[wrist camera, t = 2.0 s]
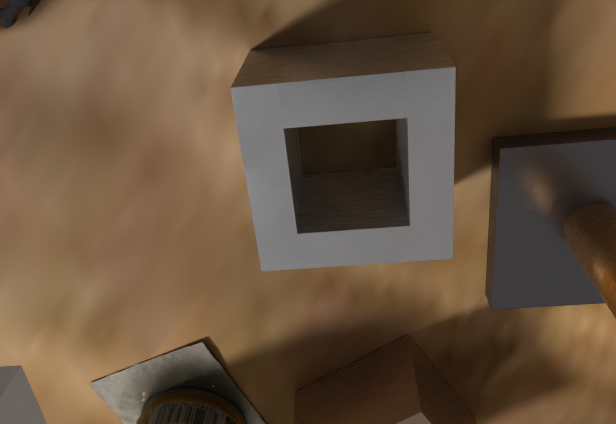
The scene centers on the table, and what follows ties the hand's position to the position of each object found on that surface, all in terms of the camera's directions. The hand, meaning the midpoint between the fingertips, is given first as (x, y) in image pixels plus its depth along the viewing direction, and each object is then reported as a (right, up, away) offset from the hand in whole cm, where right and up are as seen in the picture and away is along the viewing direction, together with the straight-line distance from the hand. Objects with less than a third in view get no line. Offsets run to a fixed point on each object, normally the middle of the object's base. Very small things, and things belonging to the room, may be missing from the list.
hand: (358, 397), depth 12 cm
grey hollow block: (+1, +7, +13) cm, 15 cm away
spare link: (+3, -7, +20) cm, 22 cm away
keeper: (+11, +4, +14) cm, 18 cm away
